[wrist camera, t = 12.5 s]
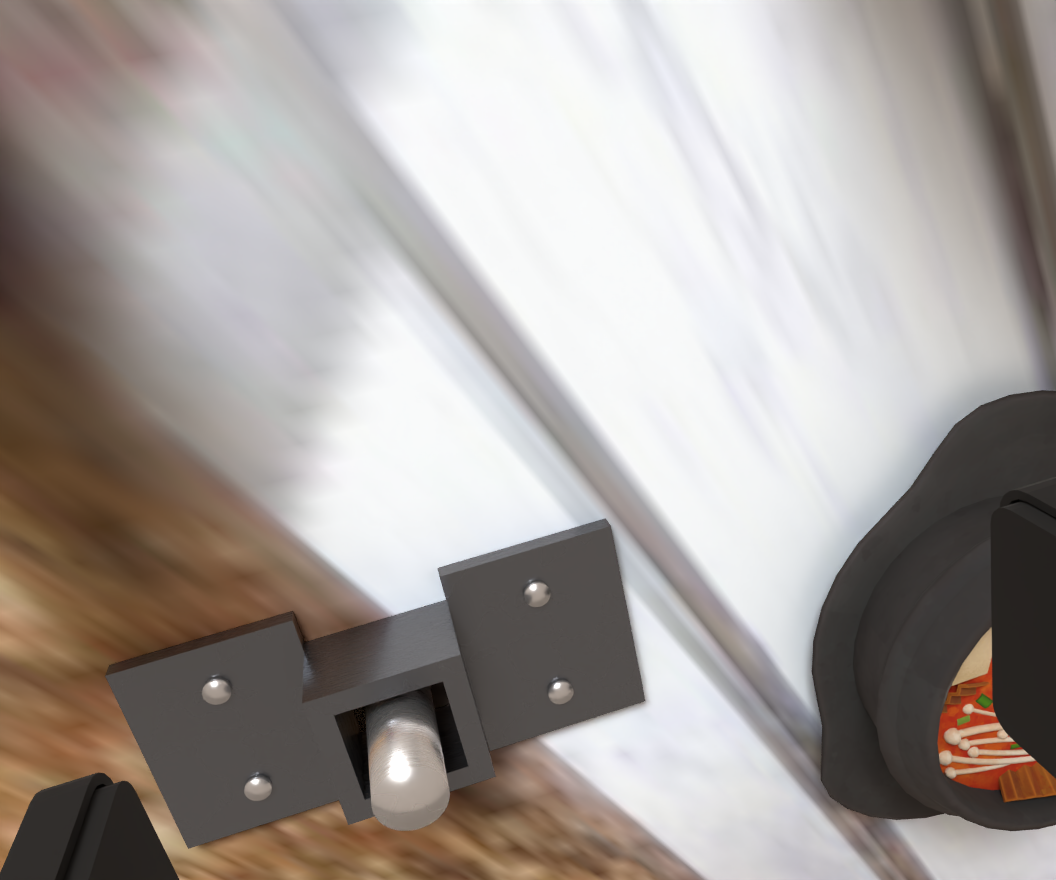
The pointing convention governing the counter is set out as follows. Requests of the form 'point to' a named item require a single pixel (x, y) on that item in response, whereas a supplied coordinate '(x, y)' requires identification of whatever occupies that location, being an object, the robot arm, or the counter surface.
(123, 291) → the counter surface
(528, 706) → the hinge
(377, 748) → the pin
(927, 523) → the casserole
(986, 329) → the counter surface
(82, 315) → the counter surface
